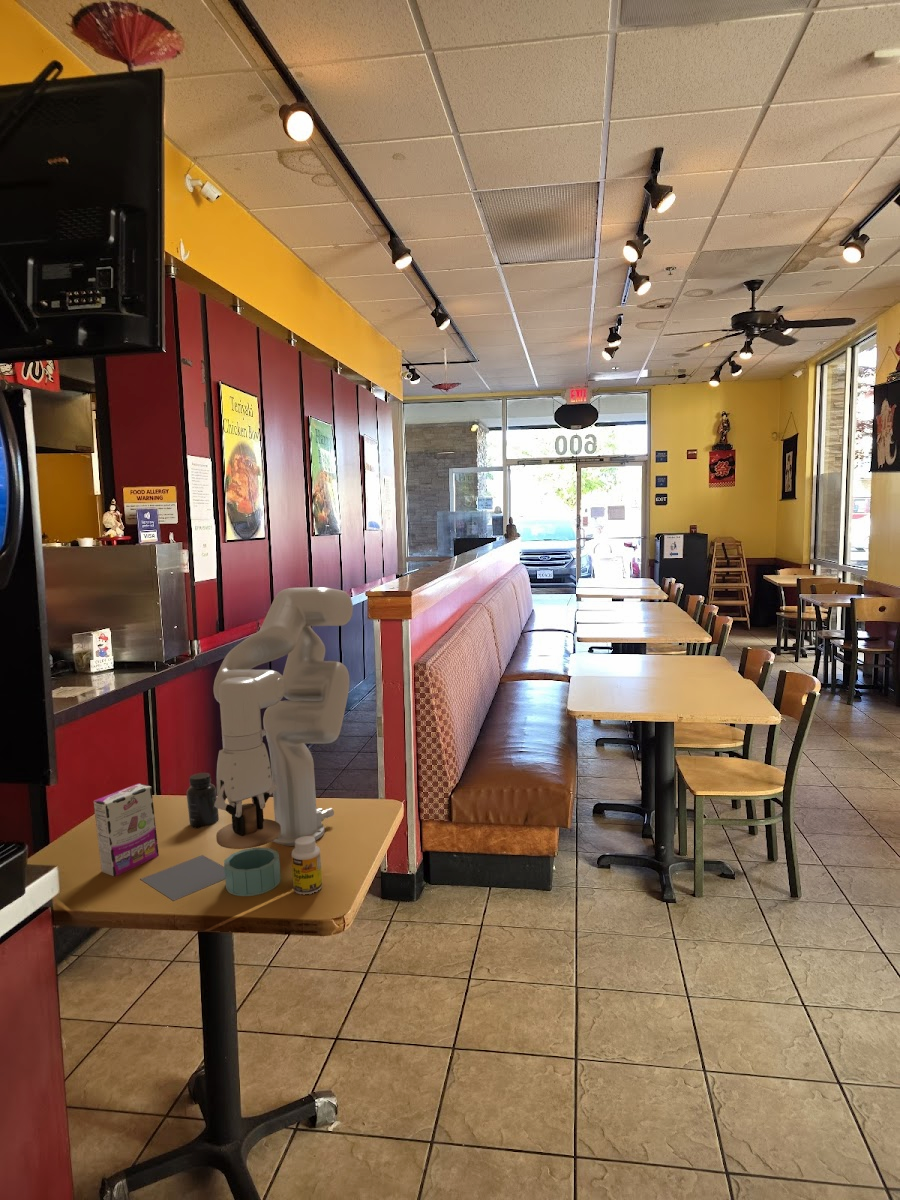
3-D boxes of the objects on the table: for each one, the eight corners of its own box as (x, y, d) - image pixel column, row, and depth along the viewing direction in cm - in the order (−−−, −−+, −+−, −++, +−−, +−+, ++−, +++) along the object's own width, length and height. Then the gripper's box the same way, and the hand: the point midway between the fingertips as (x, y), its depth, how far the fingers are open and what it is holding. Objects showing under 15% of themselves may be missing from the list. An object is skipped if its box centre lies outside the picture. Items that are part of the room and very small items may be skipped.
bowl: (261, 868, 164) (259, 843, 163) (291, 883, 157) (289, 857, 156) (216, 887, 156) (214, 861, 155) (245, 904, 149) (243, 877, 148)
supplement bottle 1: (207, 815, 194) (203, 769, 192) (224, 821, 190) (221, 773, 188) (183, 825, 188) (179, 777, 187) (201, 831, 184) (196, 782, 183)
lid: (258, 818, 163) (256, 791, 163) (293, 833, 155) (291, 804, 154) (204, 838, 154) (202, 808, 154) (238, 854, 146) (236, 823, 145)
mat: (202, 857, 170) (202, 854, 170) (237, 876, 160) (237, 873, 160) (140, 881, 160) (140, 879, 160) (173, 903, 150) (173, 900, 150)
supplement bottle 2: (289, 895, 152) (286, 845, 150) (299, 881, 157) (296, 833, 156) (317, 896, 151) (313, 846, 149) (326, 883, 156) (323, 834, 155)
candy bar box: (145, 853, 173) (138, 782, 171) (159, 857, 171) (153, 785, 169) (99, 874, 164) (92, 799, 162) (114, 879, 161) (106, 803, 159)
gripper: (267, 728, 161) (273, 813, 163) (194, 747, 149) (201, 839, 151) (288, 734, 156) (294, 822, 158) (214, 754, 144) (221, 849, 146)
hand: (248, 829), depth 155 cm, fingers closed on lid, 3 cm apart
